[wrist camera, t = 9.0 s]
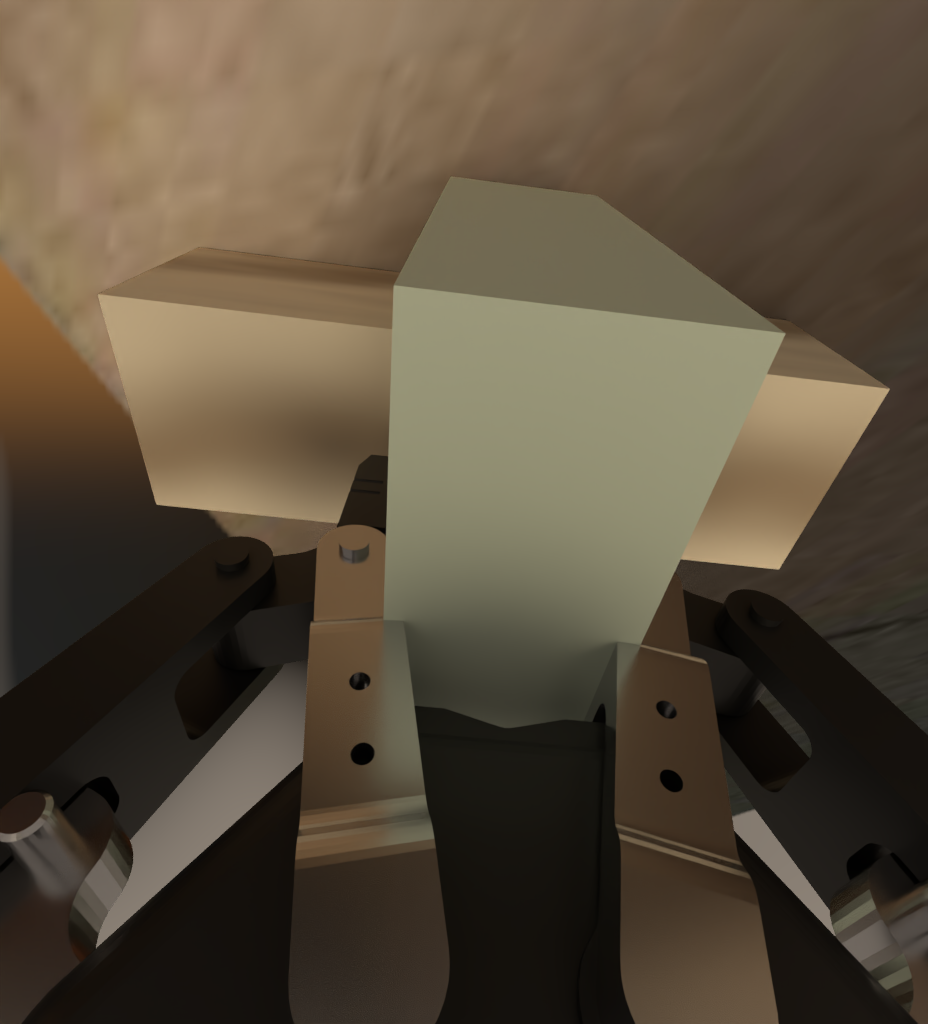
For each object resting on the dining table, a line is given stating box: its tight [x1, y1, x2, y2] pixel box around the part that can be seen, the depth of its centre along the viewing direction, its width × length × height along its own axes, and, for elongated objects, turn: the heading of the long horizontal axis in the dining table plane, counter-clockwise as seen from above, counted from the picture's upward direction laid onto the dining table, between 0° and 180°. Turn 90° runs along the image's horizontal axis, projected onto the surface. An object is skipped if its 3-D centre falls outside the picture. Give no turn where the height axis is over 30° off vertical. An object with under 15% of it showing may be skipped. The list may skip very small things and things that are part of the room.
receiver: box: [97, 247, 890, 569], centre depth 17 cm, size 6×19×6 cm, turn 84°
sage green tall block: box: [383, 176, 786, 728], centre depth 12 cm, size 12×4×10 cm, turn 174°
